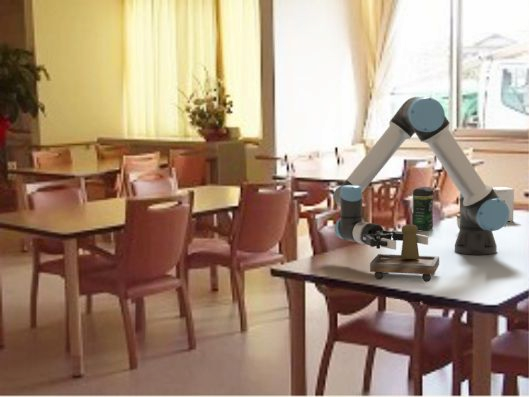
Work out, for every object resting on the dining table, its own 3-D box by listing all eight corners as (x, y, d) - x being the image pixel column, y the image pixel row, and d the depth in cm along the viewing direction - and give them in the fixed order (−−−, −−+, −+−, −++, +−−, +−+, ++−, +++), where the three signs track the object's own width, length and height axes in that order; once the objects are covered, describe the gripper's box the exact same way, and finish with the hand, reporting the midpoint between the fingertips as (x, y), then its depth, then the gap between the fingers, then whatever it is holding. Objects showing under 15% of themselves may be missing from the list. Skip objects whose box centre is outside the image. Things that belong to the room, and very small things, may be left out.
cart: (439, 273, 269) (439, 256, 268) (433, 283, 255) (433, 265, 254) (378, 270, 275) (378, 254, 275) (370, 280, 261) (370, 263, 260)
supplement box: (495, 222, 370) (495, 189, 368) (486, 219, 378) (486, 187, 376) (514, 221, 371) (514, 188, 369) (504, 218, 380) (504, 186, 378)
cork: (398, 258, 270) (398, 224, 270) (416, 258, 270) (416, 224, 271) (403, 258, 264) (402, 224, 264) (421, 258, 264) (421, 224, 265)
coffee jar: (427, 231, 349) (427, 188, 347) (410, 230, 353) (410, 187, 351) (435, 228, 357) (435, 186, 355) (418, 227, 361) (418, 185, 359)
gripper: (396, 240, 286) (440, 249, 268) (339, 249, 273) (381, 259, 255) (396, 219, 285) (440, 227, 267) (339, 226, 272) (381, 235, 254)
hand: (411, 242), depth 261 cm, fingers open, 13 cm apart
